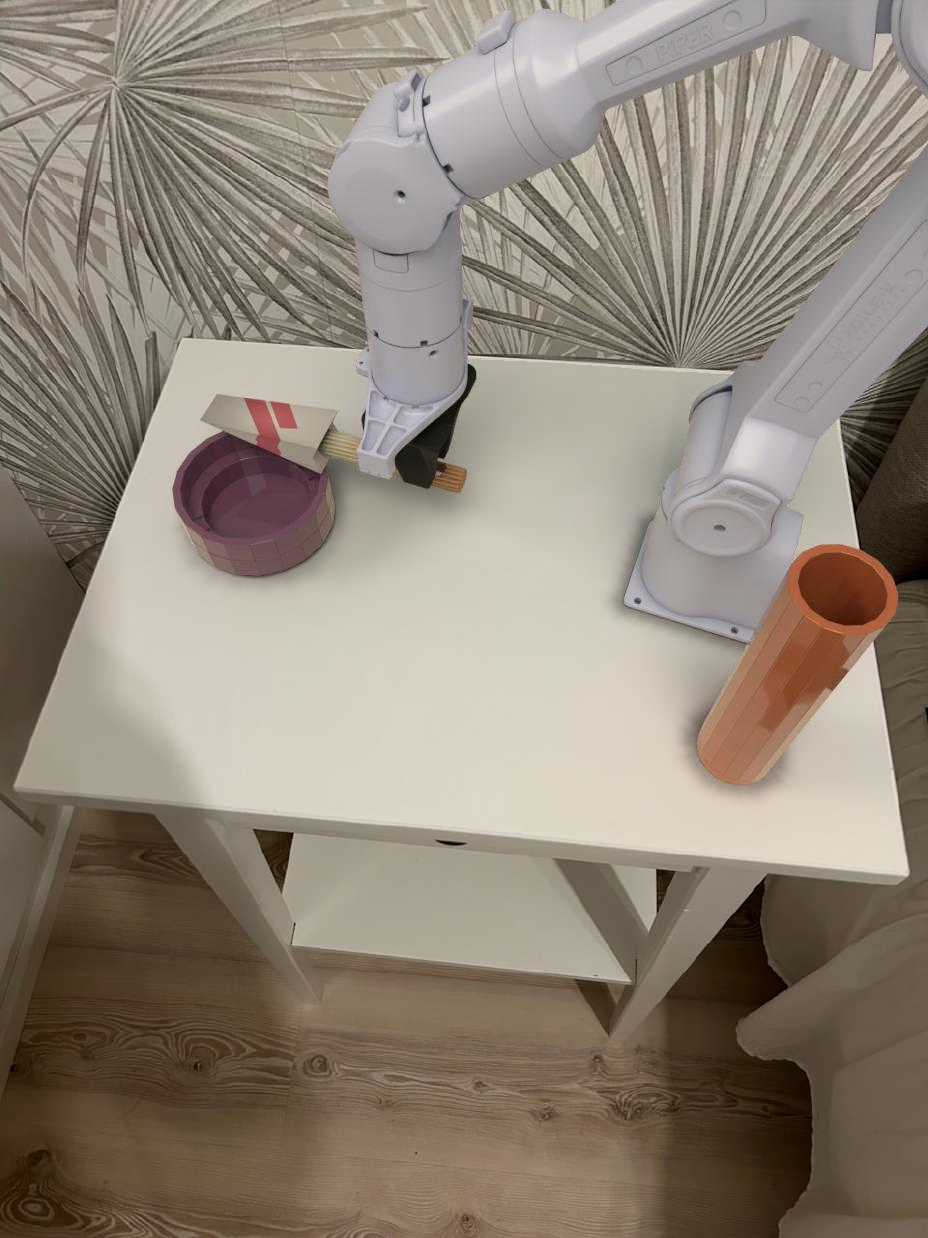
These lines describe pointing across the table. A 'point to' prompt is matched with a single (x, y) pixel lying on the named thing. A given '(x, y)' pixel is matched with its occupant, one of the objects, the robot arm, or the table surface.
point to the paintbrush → (301, 434)
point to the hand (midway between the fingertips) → (425, 466)
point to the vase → (796, 658)
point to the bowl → (251, 506)
